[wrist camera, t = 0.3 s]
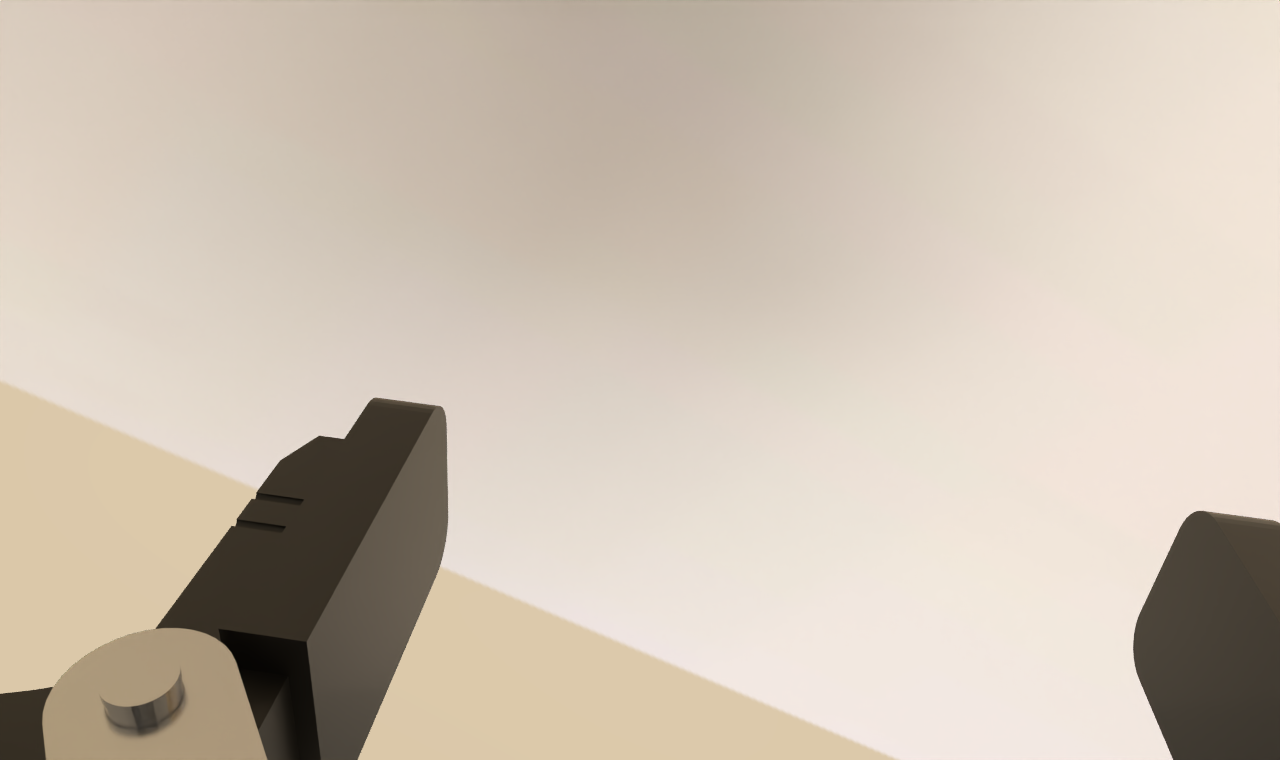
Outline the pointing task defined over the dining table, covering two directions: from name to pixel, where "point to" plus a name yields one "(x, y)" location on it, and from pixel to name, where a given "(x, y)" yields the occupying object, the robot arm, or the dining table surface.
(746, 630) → the dining table surface
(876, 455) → the dining table surface
